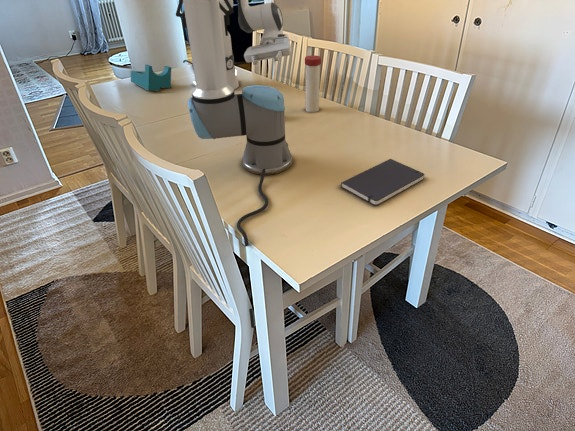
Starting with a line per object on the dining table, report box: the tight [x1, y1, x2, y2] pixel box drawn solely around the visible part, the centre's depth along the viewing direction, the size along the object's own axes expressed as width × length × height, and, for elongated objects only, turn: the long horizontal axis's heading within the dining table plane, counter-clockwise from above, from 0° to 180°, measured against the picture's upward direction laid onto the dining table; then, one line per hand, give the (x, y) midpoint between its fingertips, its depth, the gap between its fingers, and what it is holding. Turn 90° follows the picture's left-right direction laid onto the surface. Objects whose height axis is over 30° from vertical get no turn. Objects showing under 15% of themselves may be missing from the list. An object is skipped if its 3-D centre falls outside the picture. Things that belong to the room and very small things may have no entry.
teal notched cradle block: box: [130, 64, 172, 92], centre depth 188 cm, size 18×11×10 cm, turn 43°
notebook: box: [340, 158, 425, 206], centre depth 114 cm, size 13×2×21 cm
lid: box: [304, 54, 322, 66], centre depth 151 cm, size 6×6×2 cm
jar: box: [304, 64, 321, 113], centre depth 156 cm, size 5×5×20 cm
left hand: (265, 61), depth 166 cm, fingers open, 8 cm apart
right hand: (208, 36), depth 147 cm, fingers open, 13 cm apart
